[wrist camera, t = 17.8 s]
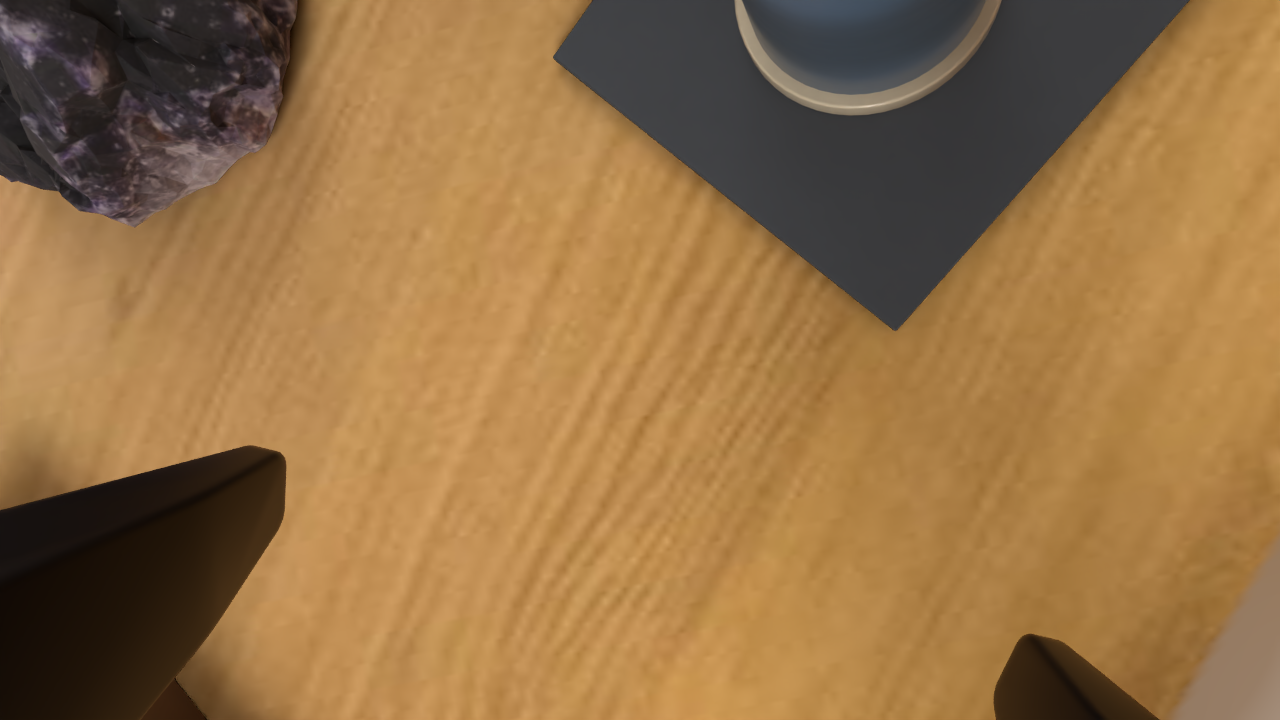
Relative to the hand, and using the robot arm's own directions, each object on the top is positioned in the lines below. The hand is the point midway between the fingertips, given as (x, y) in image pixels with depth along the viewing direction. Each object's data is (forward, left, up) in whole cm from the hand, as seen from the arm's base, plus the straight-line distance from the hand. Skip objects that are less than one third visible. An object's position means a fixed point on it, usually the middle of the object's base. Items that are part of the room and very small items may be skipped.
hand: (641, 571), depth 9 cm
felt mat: (+5, -10, -10) cm, 15 cm away
